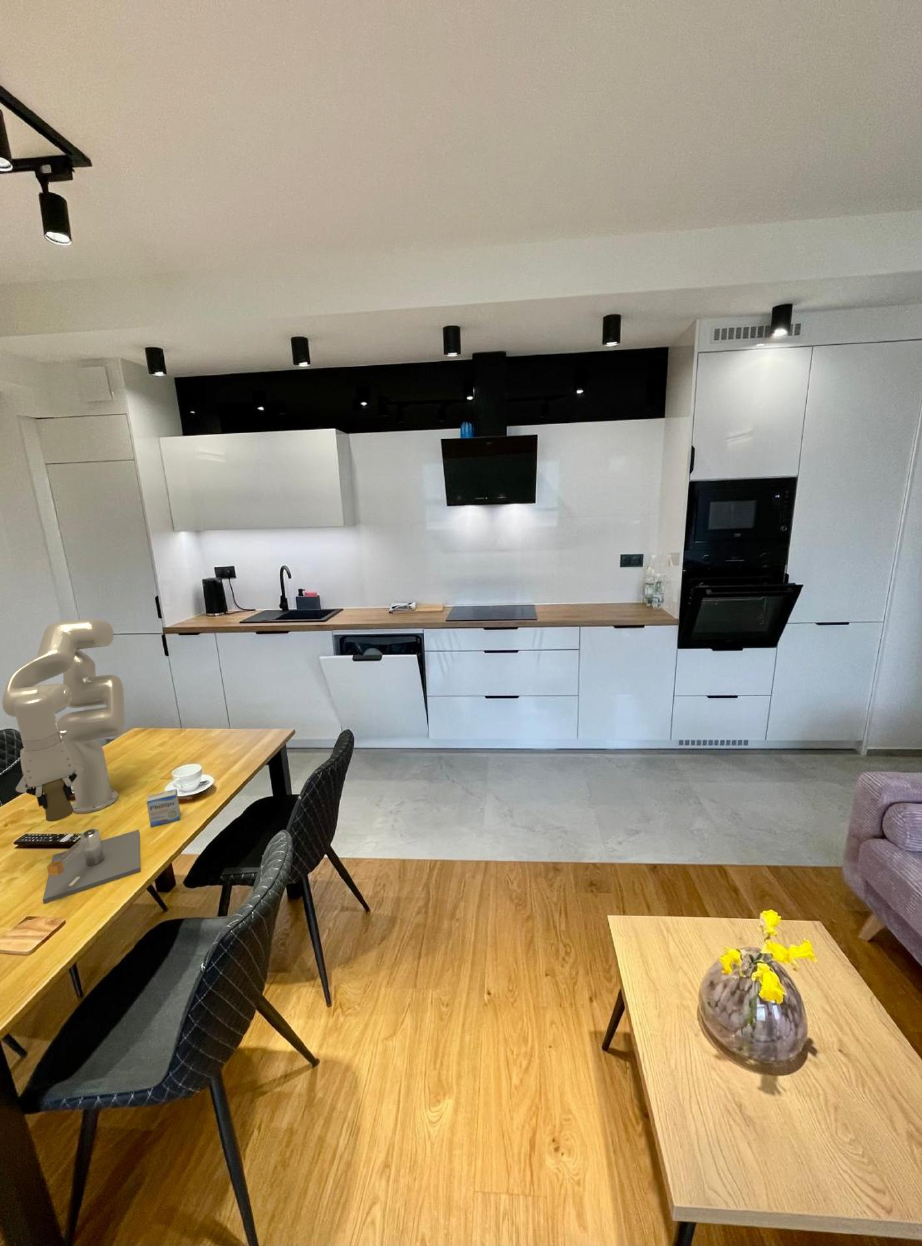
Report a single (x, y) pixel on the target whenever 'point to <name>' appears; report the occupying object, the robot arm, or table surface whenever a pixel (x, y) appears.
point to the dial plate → (96, 867)
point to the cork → (56, 801)
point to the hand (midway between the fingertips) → (56, 802)
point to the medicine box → (163, 808)
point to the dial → (87, 843)
